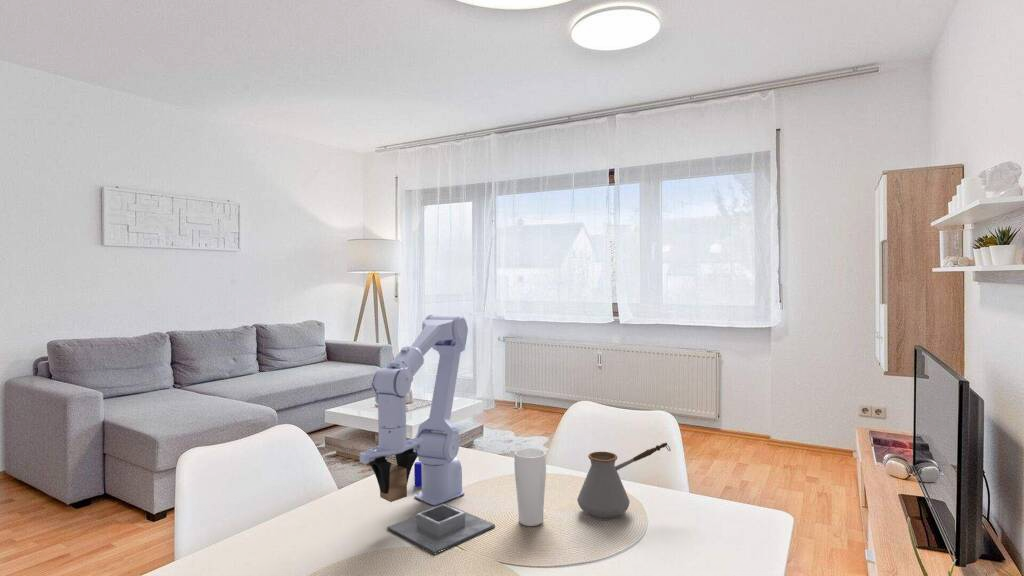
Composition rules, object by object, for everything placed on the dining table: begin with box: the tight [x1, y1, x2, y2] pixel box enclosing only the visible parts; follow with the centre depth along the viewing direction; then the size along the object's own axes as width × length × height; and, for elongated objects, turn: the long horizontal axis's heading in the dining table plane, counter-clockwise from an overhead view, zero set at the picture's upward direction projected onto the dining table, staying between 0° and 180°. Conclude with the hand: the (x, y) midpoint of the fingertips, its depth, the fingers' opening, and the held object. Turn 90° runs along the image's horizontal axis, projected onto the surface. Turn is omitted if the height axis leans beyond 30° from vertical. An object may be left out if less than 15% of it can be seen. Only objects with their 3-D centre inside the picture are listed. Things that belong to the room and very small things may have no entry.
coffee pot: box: [576, 442, 671, 521], centre depth 124 cm, size 21×12×15 cm, turn 98°
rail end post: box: [379, 463, 408, 503], centre depth 117 cm, size 4×4×6 cm
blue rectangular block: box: [413, 461, 422, 488], centre depth 147 cm, size 12×4×6 cm, turn 170°
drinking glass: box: [514, 447, 547, 527], centre depth 119 cm, size 7×7×15 cm
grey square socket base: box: [386, 503, 496, 555], centre depth 117 cm, size 16×16×3 cm
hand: (393, 489), depth 117 cm, fingers closed on rail end post, 4 cm apart
